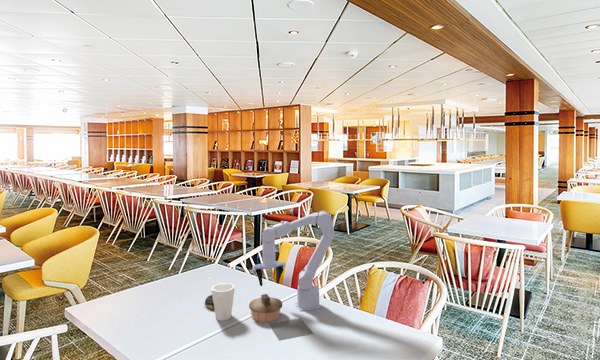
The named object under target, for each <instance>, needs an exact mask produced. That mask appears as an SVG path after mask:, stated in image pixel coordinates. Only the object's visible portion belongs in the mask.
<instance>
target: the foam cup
mask: <svg viewBox="0 0 600 360" xmlns="http://www.w3.org/2000/svg"><path fill="white" fill-rule="evenodd" d="M234 294H235V285H234V284H233V283H228V282H227V283H226V282H225V283H224V282H223V283H217V284H214V285H212V286H211V295H212V296H213V303H214V309H213V310H214V313H215V315H214V316H215V318H216V320H218V321H220V322H221V321H228V319H230V318H231V317H232V313H233V312H232V311H233V305H234V296H235V295H234Z"/></svg>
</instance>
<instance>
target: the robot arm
mask: <svg viewBox="0 0 600 360" xmlns="http://www.w3.org/2000/svg"><path fill="white" fill-rule="evenodd" d="M308 225H311V226H314V227H317V226H318V227H319V228H320V230H321V233H322V235H321V237H320V240H319V241H318V244H317V245H316V248H315V249H314V251H313V253H312V255H311V257H310V259H309V260H308V262H307V264H306V265H305V267H304V268H303V269H302V270H301V271H300V272H299V274H298V281H297V284H298V285H297V295H296V296H297V300H296V301H297V302H296V303H295V302H294V306H295V307H296V308H297V310H299V312H305V311H306V312H307V311H312V310H315V309H320V308H321V306H320V290H319V288H318V286H317V285H313V283H314V278H315V276H316V272H317V270H318V269H319V267H320V264H321V263H322V261H323V259H324V257H325V255H326V253H327V251H328V250H329V248H330V246H331V244H332V241H333V240H334V238H335V228H334V222H333V218H332V216H331V214H330V213H329V212H328V211H327V210H320V211H318V212H313V213H310V214H307V215H305V216H303V217H300V218H298V219H296V220H293V221H291V222H289V221H288V220H287V221H286V220H285V221H284V220H281V221H280V222H279V223H277V224H274V225H273V224H271V225H270V226H267V227H265V228H264V229H263V231H262V233H261V239H262V245H261V246H262V253H261V254H262V263H258V264H254V265H252V271H254V272H255V273H256V276H257V279H258V283H259V286H260V287H263V271H262V270H269V269H275V283H276V284H277V285H278V284H280V280H281V276H282V274H283V273H284V268H286V262H284V261H276V239H278V238H281V237H284V236H287V235H289V234H292V231H293V230H295V229H298V228H301V227H305V226H308Z"/></svg>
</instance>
